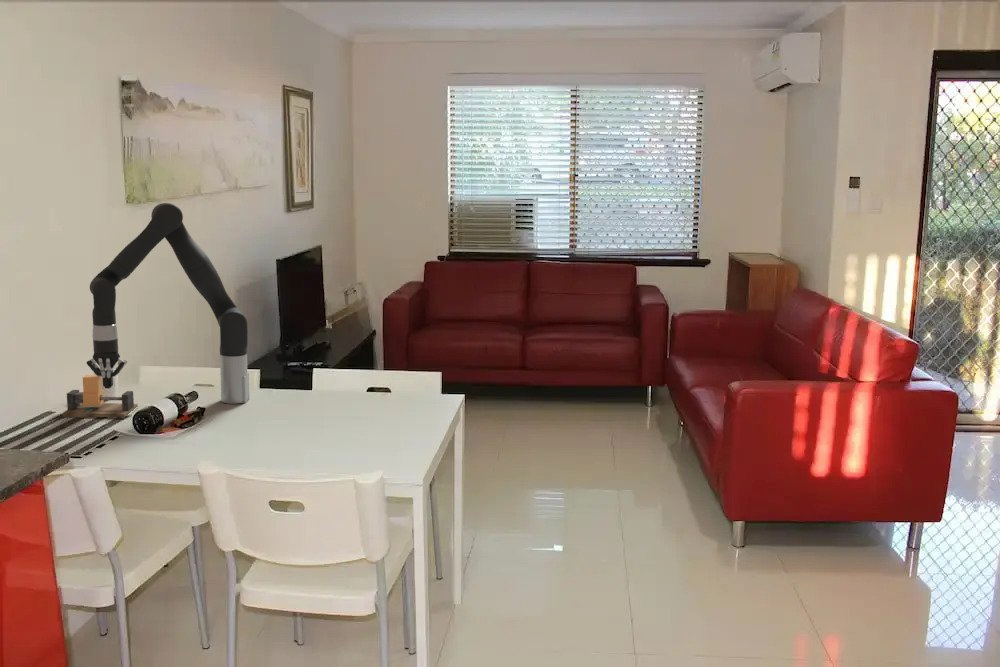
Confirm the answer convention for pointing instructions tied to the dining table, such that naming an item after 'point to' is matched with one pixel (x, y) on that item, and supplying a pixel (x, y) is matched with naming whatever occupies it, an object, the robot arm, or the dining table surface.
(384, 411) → the dining table surface
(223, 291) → the robot arm
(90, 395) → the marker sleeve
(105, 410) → the wooden board with posts
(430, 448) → the dining table surface
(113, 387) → the white cup
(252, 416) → the dining table surface
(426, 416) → the dining table surface
